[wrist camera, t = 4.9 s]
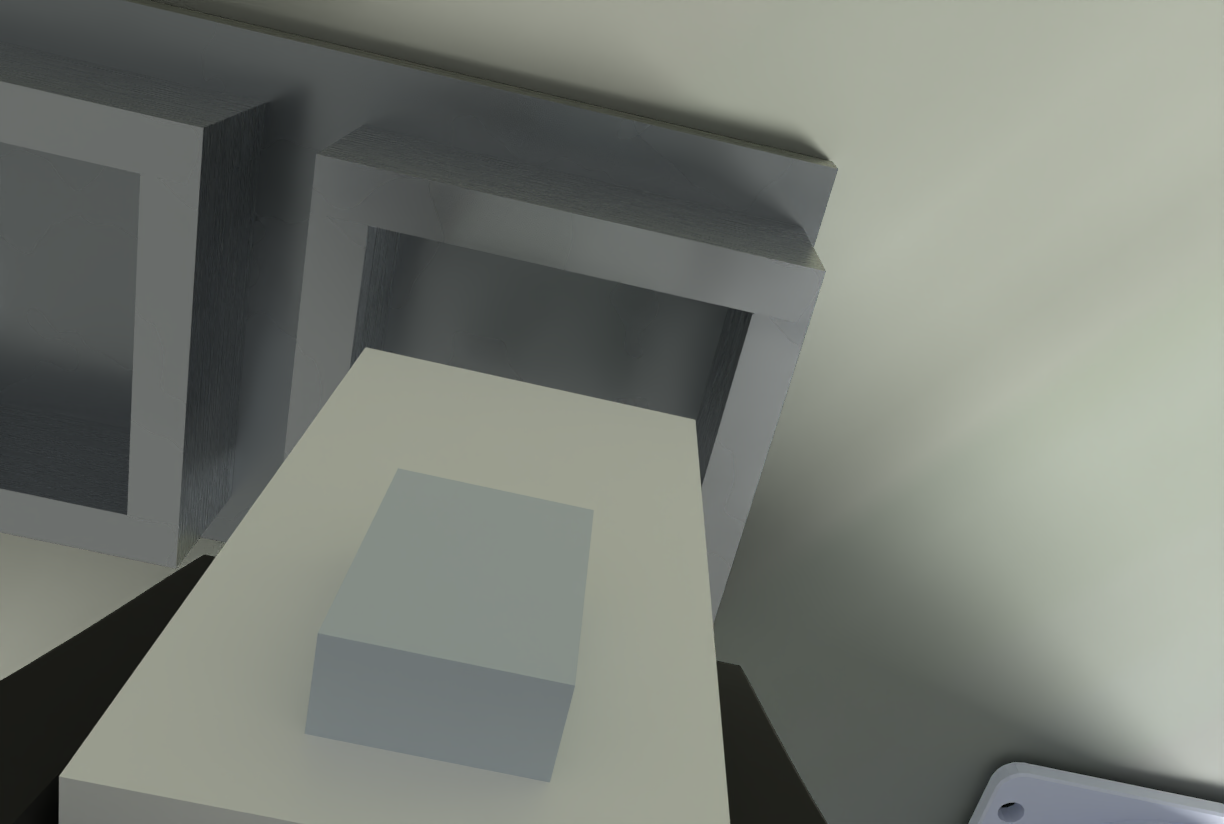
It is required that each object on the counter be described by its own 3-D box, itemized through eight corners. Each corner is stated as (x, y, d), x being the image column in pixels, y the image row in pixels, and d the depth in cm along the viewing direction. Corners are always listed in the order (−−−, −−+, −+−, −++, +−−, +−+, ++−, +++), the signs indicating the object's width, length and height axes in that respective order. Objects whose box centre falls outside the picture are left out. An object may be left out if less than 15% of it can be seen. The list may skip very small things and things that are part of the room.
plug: (621, 681, 14) (594, 1281, 8) (328, 621, 14) (55, 1189, 8) (712, 358, 12) (775, 808, 6) (374, 283, 12) (61, 665, 6)
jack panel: (690, 621, 20) (695, 726, 18) (-152, 444, 19) (-284, 526, 17) (831, 161, 17) (866, 204, 14) (-196, -82, 16) (-375, -87, 13)
